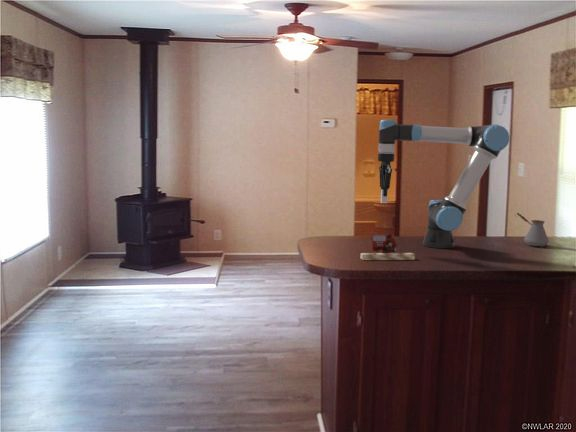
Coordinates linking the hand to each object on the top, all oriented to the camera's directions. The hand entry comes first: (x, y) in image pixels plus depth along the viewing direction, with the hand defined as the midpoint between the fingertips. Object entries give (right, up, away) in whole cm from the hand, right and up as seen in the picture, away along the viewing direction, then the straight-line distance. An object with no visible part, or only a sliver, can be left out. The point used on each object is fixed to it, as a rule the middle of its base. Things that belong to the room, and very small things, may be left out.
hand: (383, 202), depth 282 cm
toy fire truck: (-2, -25, -13) cm, 28 cm away
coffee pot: (+80, -21, +27) cm, 87 cm away
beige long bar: (-1, -25, -19) cm, 32 cm away
